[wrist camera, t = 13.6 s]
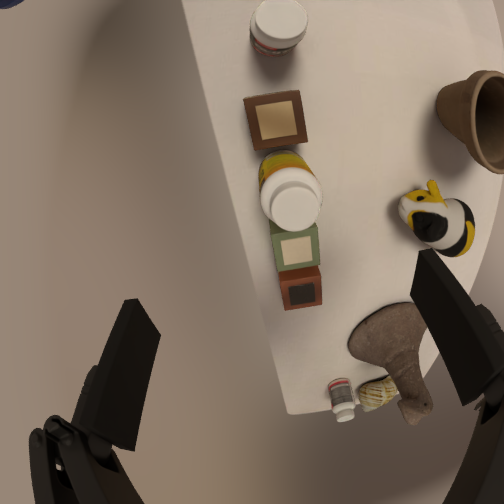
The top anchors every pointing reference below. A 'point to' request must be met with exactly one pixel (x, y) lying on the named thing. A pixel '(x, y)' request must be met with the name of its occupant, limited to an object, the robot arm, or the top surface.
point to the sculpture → (396, 354)
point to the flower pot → (477, 116)
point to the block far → (295, 247)
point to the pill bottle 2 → (342, 399)
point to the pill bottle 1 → (277, 26)
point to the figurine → (438, 220)
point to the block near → (276, 119)
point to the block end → (301, 287)
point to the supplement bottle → (289, 191)
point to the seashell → (377, 393)
